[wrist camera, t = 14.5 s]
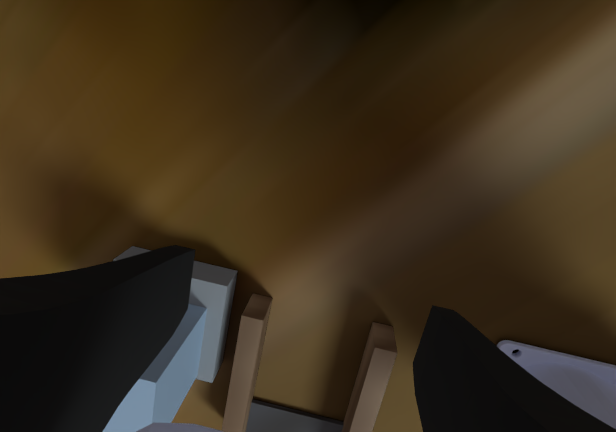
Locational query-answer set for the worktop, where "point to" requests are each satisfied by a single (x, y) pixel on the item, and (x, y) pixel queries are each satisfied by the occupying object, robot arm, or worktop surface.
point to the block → (164, 378)
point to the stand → (208, 309)
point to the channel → (292, 423)
